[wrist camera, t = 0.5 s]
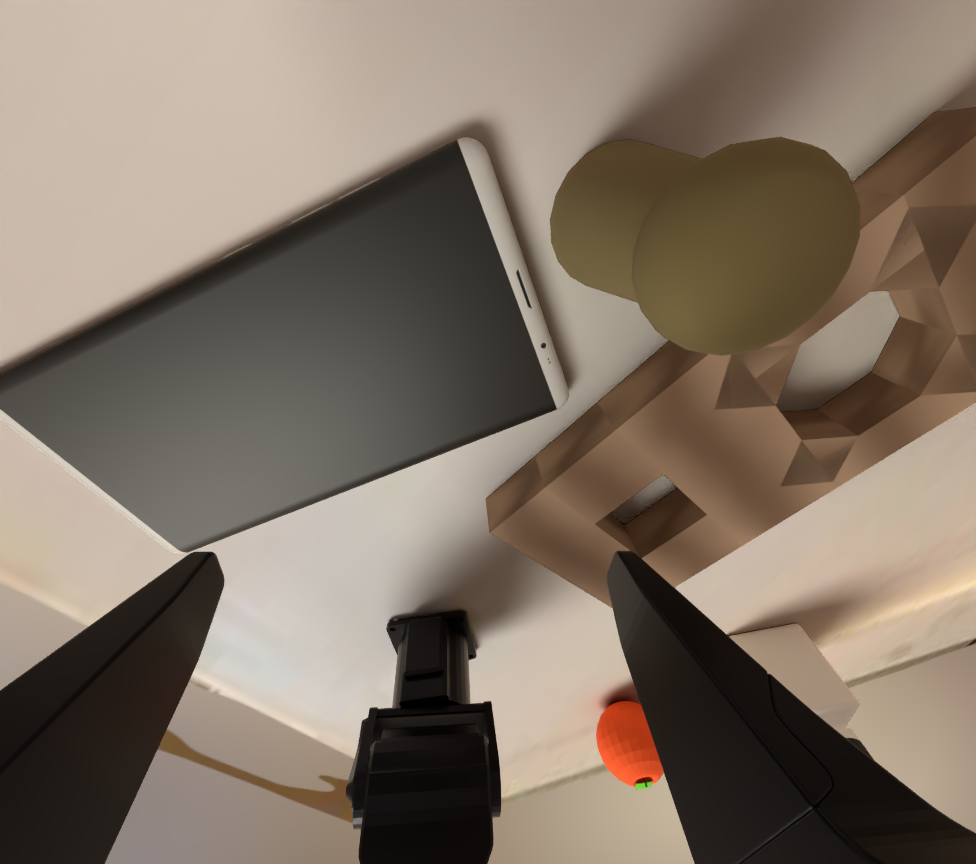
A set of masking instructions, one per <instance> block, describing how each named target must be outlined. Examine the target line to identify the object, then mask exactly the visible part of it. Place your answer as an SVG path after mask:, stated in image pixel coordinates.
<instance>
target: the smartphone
mask: <svg viewBox="0 0 976 864" xmlns="http://www.w3.org/2000/svg"><path fill="white" fill-rule="evenodd" d="M289 224H290V225H288V226H286V227H284V228H282V229H280V230H278V231H276V232H274V233H272V234H270V235H268V236H266V237H265V238H263V239H261V240H259V241H257V242H255V243H253V244H252V243H249V244H247V245H246V246H244V247H242V248H240V249H238V250H236V251H234V252H232V253H230V254H228V255H226V256H224V257H222V259H221V260H219V261H217V262H215V263H213V264H211V265H210V266H208V267H206V268H204V269H202V270H200V271H198V272H196V273H194V274H192V275H190V276H188V277H186V278H184V279H182V280H180V281H178V282H176V283H174V284H172V285H170V286H168V287H166V288H164V289H162V290H160V291H158V292H156V293H154V294H153V295H151V296H149V297H147V298H145V299H143V300H141V301H139V302H137V303H135V304H133V305H131V306H129V307H127V308H125V309H123V310H121V311H119V312H117V313H115V314H113V315H111V316H109V317H107V318H105V319H103V320H101V321H99V322H98V323H96V324H94V325H92V326H90V327H88V328H86V329H84V330H82V331H80V332H78V333H76V334H74V335H72V336H70V337H68V338H66V339H64V340H62V341H60V342H58V343H56V344H54V345H52V346H50V347H48V348H46V349H44V350H43V351H41V352H39V353H37V354H35V355H33V356H31V357H29V358H27V359H25V360H23V361H21V362H19V363H17V364H15V365H13V366H11V367H9V368H7V369H5V370H3V371H1V372H0V420H2V421H3V422H4V423H5V424H7V425H8V426H9V427H11V428H12V429H13V430H14V431H16V432H17V433H18V434H20V435H21V436H22V437H23V438H25V439H26V440H27V441H28V442H30V443H31V444H32V445H34V446H35V447H36V448H37V449H39V450H40V451H41V452H43V453H44V454H45V455H46V456H48V457H49V458H50V459H52V460H53V461H54V462H55V463H57V464H58V465H59V466H61V467H62V468H63V469H64V470H66V471H67V472H68V473H70V474H71V475H72V476H73V477H75V478H76V479H77V480H79V481H80V482H81V483H82V484H84V485H85V486H86V487H88V488H89V489H90V490H91V491H93V492H94V493H95V494H97V495H98V496H99V497H100V498H102V499H103V500H104V501H106V502H107V503H108V504H109V505H111V506H112V507H113V508H115V509H116V510H117V511H118V512H120V513H121V514H122V515H124V516H125V517H126V518H127V519H129V520H130V521H131V522H133V523H134V524H135V525H136V526H138V527H139V528H140V529H142V530H143V531H144V532H145V533H147V534H148V535H149V536H151V537H152V538H153V539H154V540H156V541H157V542H158V543H159V544H161V545H162V546H163V547H165V548H166V549H167V550H169V551H171V552H174V553H179V554H182V553H187V552H190V551H193V550H195V549H198V548H201V547H203V546H206V545H208V544H211V543H213V542H216V541H219V540H221V539H224V538H226V537H229V536H232V535H234V534H237V533H239V532H242V531H244V530H247V529H250V528H252V527H255V526H257V525H260V524H262V523H265V522H268V521H270V520H273V519H275V518H278V517H281V516H283V515H286V514H288V513H291V512H293V511H296V510H299V509H301V508H304V507H306V506H309V505H312V504H314V503H317V502H319V501H322V500H324V499H327V498H330V497H332V496H335V495H337V494H340V493H343V492H345V491H348V490H350V489H353V488H355V487H358V486H361V485H363V484H366V483H368V482H371V481H374V480H376V479H379V478H381V477H384V476H386V475H389V474H392V473H394V472H397V471H399V470H402V469H405V468H407V467H410V466H412V465H415V464H417V463H420V462H423V461H425V460H428V459H430V458H433V457H436V456H438V455H441V454H443V453H446V452H448V451H451V450H454V449H456V448H459V447H461V446H464V445H467V444H469V443H472V442H474V441H477V440H479V439H482V438H485V437H487V436H490V435H492V434H495V433H497V432H500V431H503V430H505V429H508V428H510V427H513V426H516V425H518V424H521V423H523V422H526V421H528V420H531V419H534V418H536V417H539V416H541V415H544V414H547V413H549V412H552V411H554V410H557V409H559V408H561V407H562V406H563V405H564V404H565V403H566V402H567V400H568V397H569V390H568V386H567V383H566V380H565V378H564V375H563V372H562V369H561V366H560V363H559V360H558V357H557V354H556V351H555V348H554V345H553V342H552V339H551V336H550V334H549V331H548V328H547V325H546V322H545V319H544V316H543V313H542V310H541V307H540V304H539V301H538V298H537V295H536V292H535V290H534V287H533V284H532V281H531V278H530V275H529V272H528V269H527V266H526V263H525V260H524V257H523V254H522V251H521V248H520V246H519V243H518V240H517V237H516V234H515V231H514V228H513V225H512V222H511V219H510V216H509V213H508V210H507V207H506V205H505V202H504V199H503V196H502V193H501V190H500V187H499V184H498V181H497V178H496V175H495V172H494V169H493V166H492V163H491V161H490V158H489V155H488V152H487V150H486V149H485V147H484V146H483V145H482V144H481V143H480V142H479V141H477V140H475V139H473V138H468V137H464V138H460V139H457V140H455V141H453V142H451V143H449V144H447V145H445V146H443V147H441V148H439V149H437V150H435V151H433V152H431V153H430V154H428V155H426V156H424V157H422V158H420V159H418V160H416V161H414V162H412V163H410V164H408V165H406V166H404V167H402V168H400V169H398V170H396V171H394V172H392V173H390V174H388V175H386V176H384V177H382V178H380V177H379V178H377V179H375V180H373V181H371V182H369V183H367V184H365V185H363V186H361V187H359V188H357V189H355V190H353V191H351V192H349V193H348V194H346V195H344V196H342V197H340V198H338V200H337V201H335V202H333V203H328V204H326V205H324V206H322V207H320V208H318V209H316V210H314V211H312V212H310V213H308V214H306V215H304V216H302V217H300V218H298V219H297V220H295V221H293V222H291V223H289Z"/></svg>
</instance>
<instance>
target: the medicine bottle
mask: <svg viewBox="0 0 976 864" xmlns="http://www.w3.org/2000/svg"><path fill="white" fill-rule="evenodd" d="M729 637H730V638H731V639H732V640H733V641H734V642H735V643H736V644H738V645H739V646H740V647H741V648H742V649H743V650H744V651H745V652H747V653H748V654H749V655H750V656H751V657H752V658H753V659H754V660H755V661H757V662H758V663H759V664H760V665H761V666H762V667H763V668H764V669H766V671H767V673H768V674H771V675H772V676H774V677H775V678H776V679H777V680H778V681H779V682H780V683H781V684H782V685H784V686H785V687H786V688H787V689H788V690H789V691H790V692H791V693H793V694H794V695H795V696H796V697H797V698H798V699H800V700H801V701H802V702H803V703H804V704H805V705H806V706H808V707H809V708H810V709H811V710H812V711H813V712H815V713H816V714H817V715H818V716H819V717H821V718H822V719H823V720H824V721H826V722H827V723H828V724H829V725H830V726H832V727H833V728H834V729H835V730H837V731H838V732H839V733H840V734H842V735H843V736H844V737H845V738H846V739H848V740H849V741H850V742H851V743H853V744H854V745H855V746H857V747H858V748H859V749H860V750H862V751H863V752H864V753H865V754H867V755H868V756H869V757H870V758H872V757H871V755H870V754H869V752H868V751H867V750H866V748H865V747H864V746H863V744H862V743H861V742H860V740H859V739H858V737H857V736H856V734H855V733H854V732H853V730H851V729H849V728H846V725H847V724H848V722H849V721H850V719H851V718H852V716H853V715H854V713H855V712H856V710H857V709H858V707H859V702H858V700H857V699H856V697H855V696H854V695H853V693H852V692H851V691H850V690H849V688H848V687H847V686H846V684H845V683H844V682H843V680H842V679H841V678H840V677H839V675H838V674H837V673H836V671H835V670H834V669H833V668H832V666H831V665H830V664H829V662H828V661H827V660H826V659H825V657H824V656H823V655H822V653H821V652H820V651H819V649H818V648H817V647H816V646H815V644H814V643H813V642H812V640H811V639H810V638H809V637H808V635H807V634H806V633H805V631H804V630H803V629H802V628H801V626H800V625H798V624H790V625H784V626H779V627H774V628H769V629H763V630H758V631H753V632H747V633H742V634H737V635H731V636H729ZM872 759H873V758H872ZM873 760H874V759H873Z"/></svg>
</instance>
